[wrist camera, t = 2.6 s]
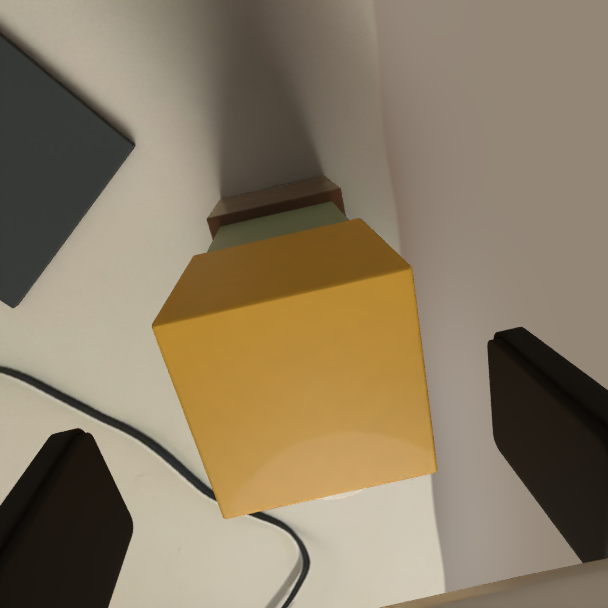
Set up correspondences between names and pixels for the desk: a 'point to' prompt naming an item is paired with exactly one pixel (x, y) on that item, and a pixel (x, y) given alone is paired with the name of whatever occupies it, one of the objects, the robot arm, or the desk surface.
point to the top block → (300, 367)
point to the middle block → (277, 225)
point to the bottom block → (274, 201)
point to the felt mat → (45, 167)
